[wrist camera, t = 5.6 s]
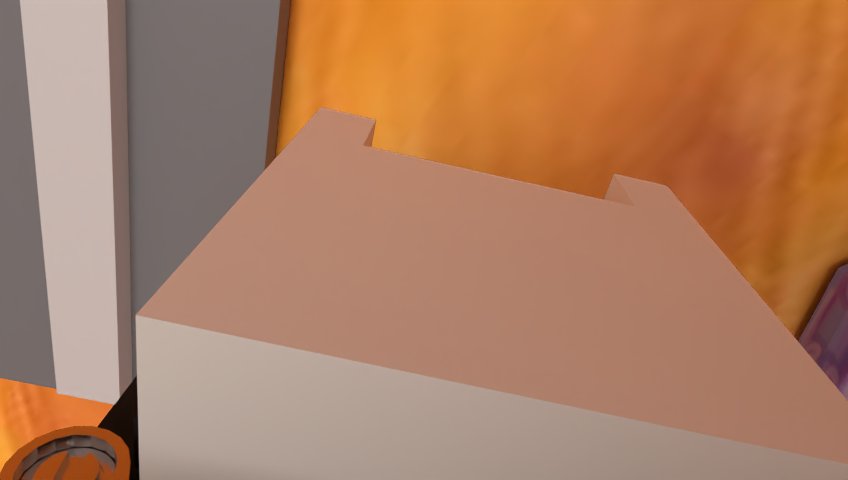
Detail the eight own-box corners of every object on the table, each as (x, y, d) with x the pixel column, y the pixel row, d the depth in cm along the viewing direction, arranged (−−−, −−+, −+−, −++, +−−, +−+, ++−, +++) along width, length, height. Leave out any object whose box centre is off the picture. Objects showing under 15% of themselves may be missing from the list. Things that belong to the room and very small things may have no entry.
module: (666, 185, 11) (912, 477, 5) (536, 481, 14) (585, 851, 8) (320, 107, 10) (135, 315, 4) (279, 429, 14) (146, 773, 8)
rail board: (301, -107, 20) (280, -116, 18) (249, 404, 31) (232, 442, 28) (-106, -206, 20) (-185, -228, 17) (-16, 351, 30) (-57, 386, 28)
